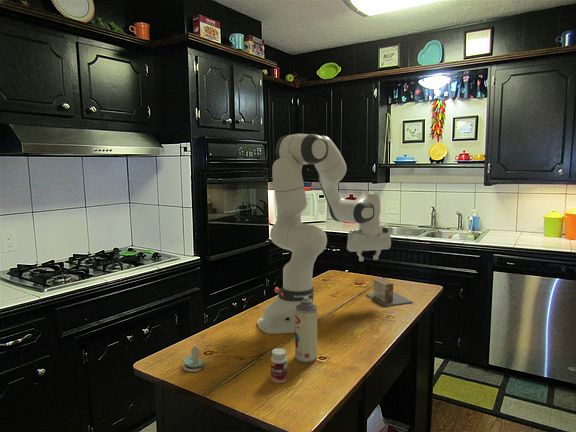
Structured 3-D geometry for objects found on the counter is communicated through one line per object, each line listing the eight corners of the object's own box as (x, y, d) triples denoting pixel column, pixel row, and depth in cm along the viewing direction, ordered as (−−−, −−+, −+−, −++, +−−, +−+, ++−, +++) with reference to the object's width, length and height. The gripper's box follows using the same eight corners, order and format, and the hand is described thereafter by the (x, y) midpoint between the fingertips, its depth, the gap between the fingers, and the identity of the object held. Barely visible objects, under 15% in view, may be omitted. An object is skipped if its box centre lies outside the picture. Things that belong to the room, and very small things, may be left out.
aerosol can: (294, 353, 134) (294, 293, 131) (315, 353, 134) (316, 293, 132) (295, 363, 127) (295, 301, 125) (317, 363, 127) (318, 300, 125)
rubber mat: (385, 306, 177) (385, 305, 177) (366, 295, 192) (366, 294, 192) (412, 302, 182) (412, 301, 182) (391, 292, 197) (391, 291, 197)
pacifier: (196, 375, 121) (209, 366, 126) (195, 355, 120) (208, 346, 125) (177, 369, 124) (191, 360, 129) (176, 350, 123) (190, 341, 128)
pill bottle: (267, 381, 117) (267, 353, 116) (275, 373, 121) (275, 346, 120) (283, 384, 115) (283, 356, 114) (290, 376, 119) (290, 349, 118)
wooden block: (384, 302, 181) (384, 284, 180) (373, 296, 190) (373, 279, 189) (392, 301, 183) (393, 283, 182) (381, 295, 191) (382, 278, 190)
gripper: (351, 231, 173) (350, 263, 175) (393, 228, 180) (392, 260, 182) (344, 229, 179) (343, 260, 180) (385, 226, 186) (384, 257, 187)
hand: (368, 260), depth 181 cm, fingers open, 6 cm apart
